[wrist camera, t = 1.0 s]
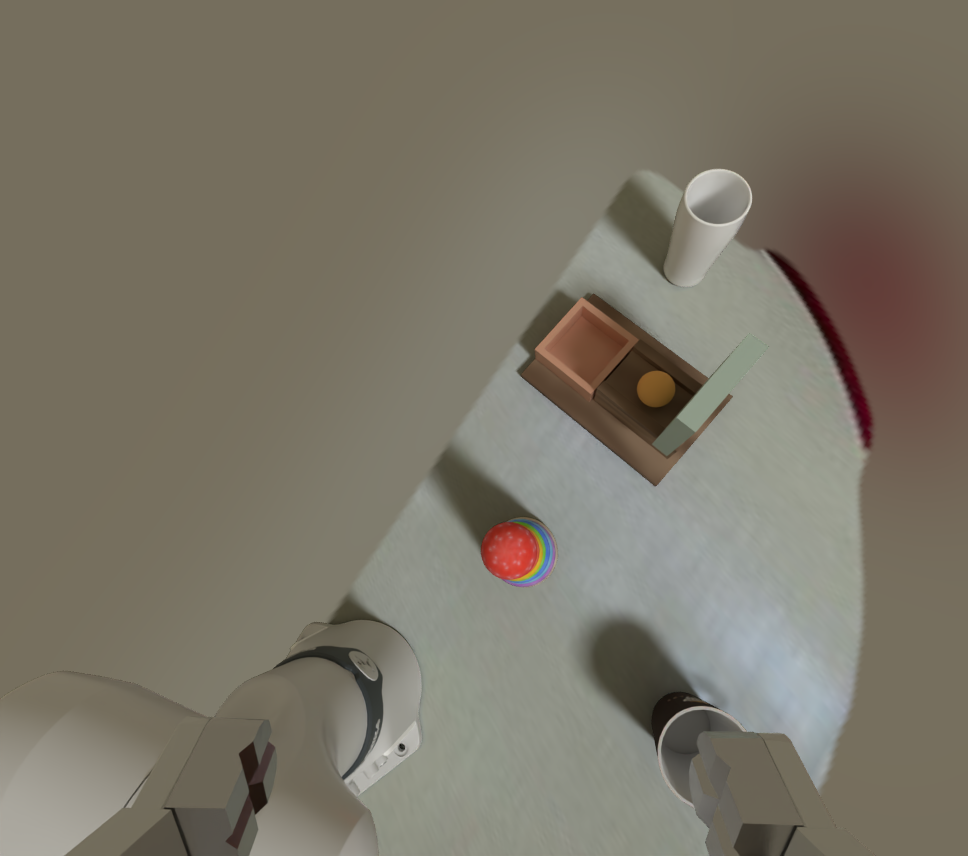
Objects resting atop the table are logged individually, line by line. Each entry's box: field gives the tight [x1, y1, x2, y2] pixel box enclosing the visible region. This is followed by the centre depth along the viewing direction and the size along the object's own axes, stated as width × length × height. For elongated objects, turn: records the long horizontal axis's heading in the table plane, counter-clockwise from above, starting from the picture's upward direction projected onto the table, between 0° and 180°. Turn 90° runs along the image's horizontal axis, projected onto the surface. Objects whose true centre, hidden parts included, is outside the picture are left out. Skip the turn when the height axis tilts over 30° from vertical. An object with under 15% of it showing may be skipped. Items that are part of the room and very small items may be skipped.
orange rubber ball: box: [637, 371, 675, 407], centre depth 60 cm, size 4×4×4 cm
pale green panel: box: [652, 333, 769, 456], centre depth 54 cm, size 10×2×14 cm, turn 138°
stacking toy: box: [481, 517, 558, 587], centre depth 56 cm, size 8×8×19 cm
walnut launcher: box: [521, 294, 733, 486], centre depth 65 cm, size 14×21×6 cm, turn 48°
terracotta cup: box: [535, 297, 639, 402], centre depth 67 cm, size 9×9×4 cm
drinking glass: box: [664, 169, 752, 287], centre depth 63 cm, size 7×7×15 cm
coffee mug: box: [652, 692, 747, 808], centre depth 54 cm, size 12×9×10 cm
